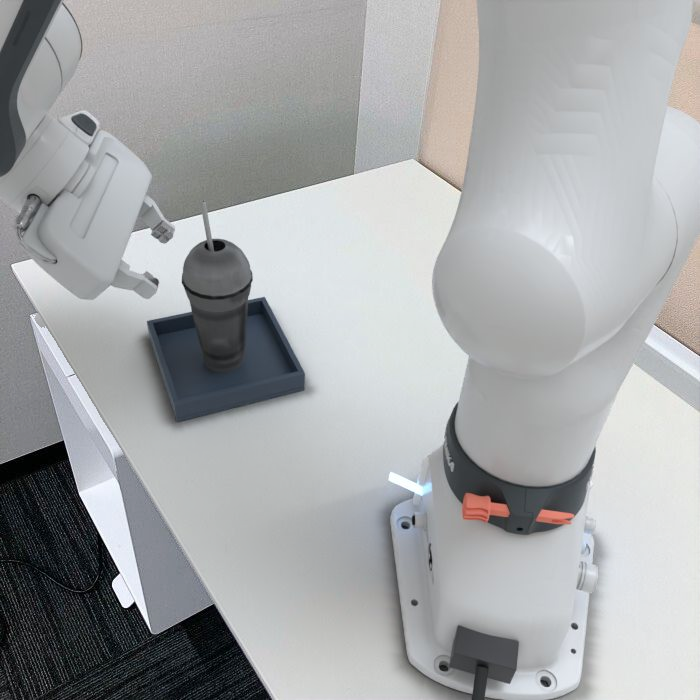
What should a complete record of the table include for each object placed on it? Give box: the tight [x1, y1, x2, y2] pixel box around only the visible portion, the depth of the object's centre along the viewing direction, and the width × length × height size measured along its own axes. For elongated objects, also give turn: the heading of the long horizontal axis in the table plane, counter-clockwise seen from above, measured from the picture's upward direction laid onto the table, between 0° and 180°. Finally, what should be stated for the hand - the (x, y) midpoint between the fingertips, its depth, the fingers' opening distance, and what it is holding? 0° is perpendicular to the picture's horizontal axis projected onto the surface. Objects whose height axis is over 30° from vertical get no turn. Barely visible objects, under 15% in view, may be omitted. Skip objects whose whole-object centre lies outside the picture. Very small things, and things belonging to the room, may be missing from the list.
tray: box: [146, 296, 306, 423], centre depth 83 cm, size 14×14×3 cm
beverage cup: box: [181, 199, 254, 373], centre depth 77 cm, size 7×7×20 cm
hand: (162, 262), depth 75 cm, fingers open, 8 cm apart
